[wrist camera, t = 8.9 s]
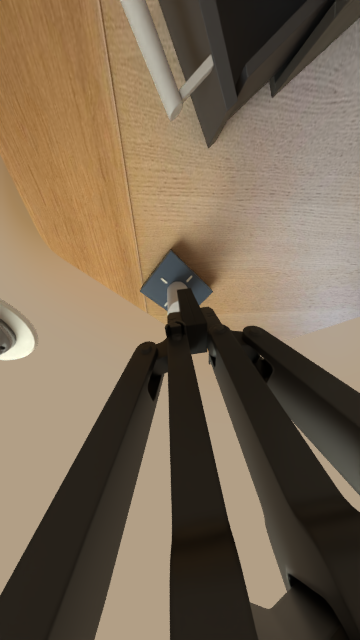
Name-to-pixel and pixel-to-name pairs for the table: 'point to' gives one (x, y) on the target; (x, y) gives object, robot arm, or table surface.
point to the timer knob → (174, 296)
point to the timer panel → (173, 280)
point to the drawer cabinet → (318, 41)
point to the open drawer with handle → (222, 50)
